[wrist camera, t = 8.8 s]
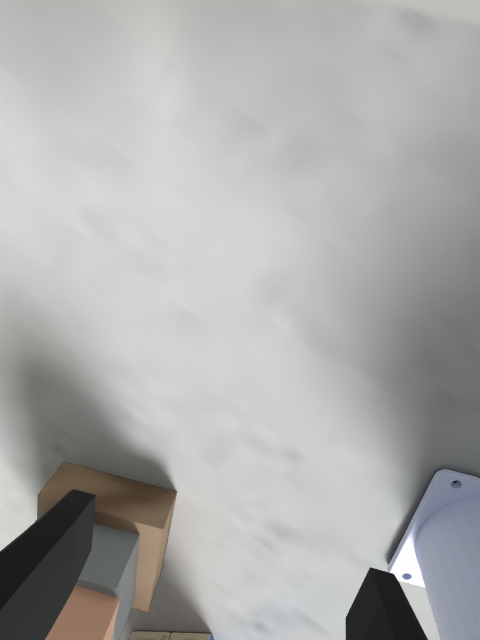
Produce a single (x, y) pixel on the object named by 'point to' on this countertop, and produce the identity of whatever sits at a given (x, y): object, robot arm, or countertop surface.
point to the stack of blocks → (168, 636)
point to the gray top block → (112, 569)
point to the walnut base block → (122, 516)
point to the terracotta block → (86, 616)
